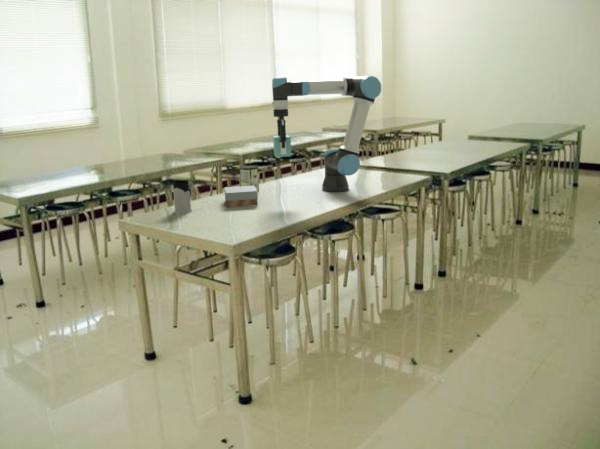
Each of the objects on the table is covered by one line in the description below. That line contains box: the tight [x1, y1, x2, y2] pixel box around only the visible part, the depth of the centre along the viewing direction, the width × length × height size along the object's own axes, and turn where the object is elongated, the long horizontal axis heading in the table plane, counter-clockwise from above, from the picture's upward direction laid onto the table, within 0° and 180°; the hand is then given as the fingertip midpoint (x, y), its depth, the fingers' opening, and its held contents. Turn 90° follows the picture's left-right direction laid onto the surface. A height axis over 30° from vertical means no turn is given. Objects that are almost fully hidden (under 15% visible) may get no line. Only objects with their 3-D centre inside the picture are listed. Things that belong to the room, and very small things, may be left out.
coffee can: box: [239, 164, 260, 192], centre depth 340 cm, size 10×10×14 cm
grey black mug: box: [172, 179, 194, 214], centre depth 295 cm, size 9×14×15 cm, turn 156°
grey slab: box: [224, 186, 258, 201], centre depth 308 cm, size 16×16×4 cm
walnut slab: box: [224, 196, 259, 208], centre depth 309 cm, size 16×16×4 cm
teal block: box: [272, 134, 292, 158], centre depth 306 cm, size 8×8×10 cm
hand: (282, 153), depth 306 cm, fingers closed on teal block, 8 cm apart
